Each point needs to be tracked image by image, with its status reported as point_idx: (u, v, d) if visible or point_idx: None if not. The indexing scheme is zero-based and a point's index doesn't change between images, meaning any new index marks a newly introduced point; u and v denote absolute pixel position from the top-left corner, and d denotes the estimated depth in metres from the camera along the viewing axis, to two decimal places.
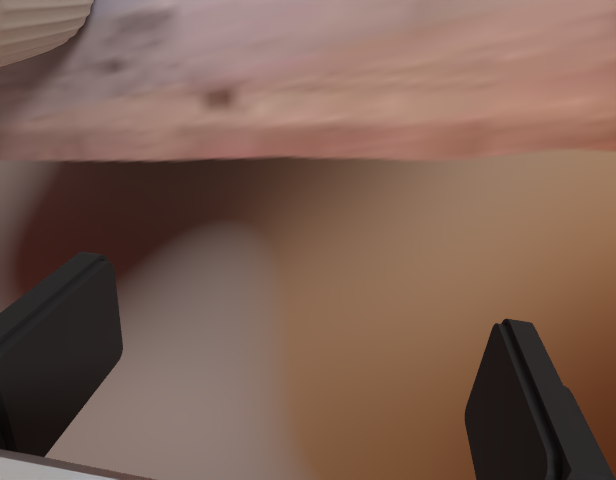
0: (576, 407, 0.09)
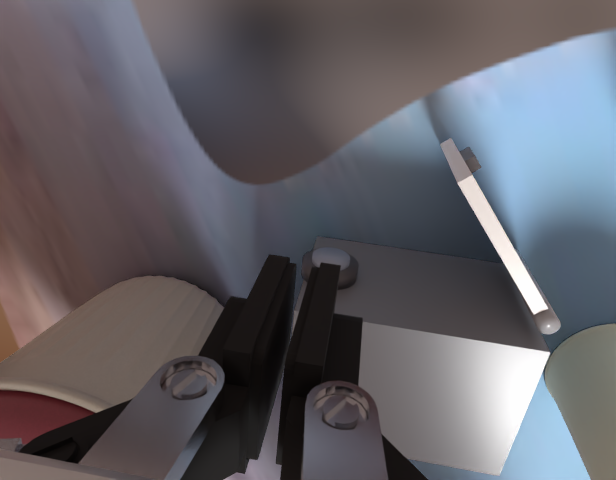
0: (361, 332, 0.10)
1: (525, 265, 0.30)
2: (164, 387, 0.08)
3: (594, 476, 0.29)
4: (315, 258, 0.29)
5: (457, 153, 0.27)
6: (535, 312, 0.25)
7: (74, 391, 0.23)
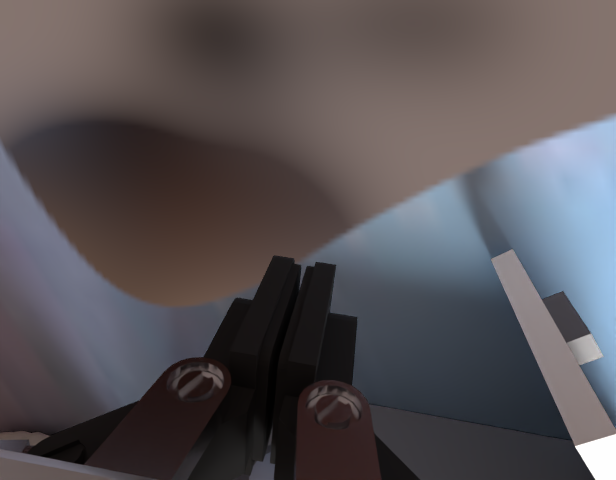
0: None
1: None
2: (171, 389, 0.08)
3: None
4: None
5: (542, 308, 0.13)
6: None
7: None
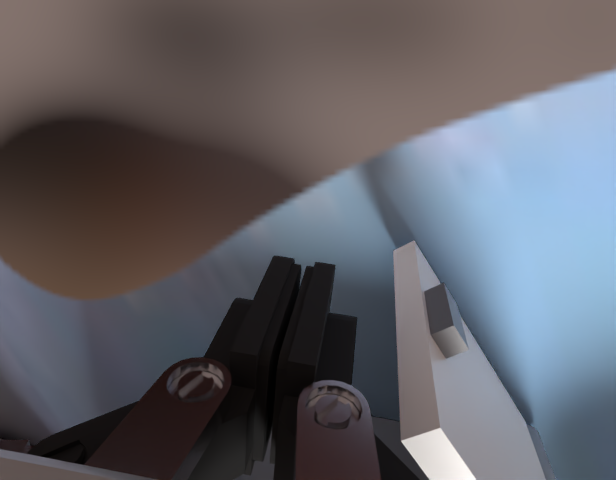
0: None
1: None
2: (171, 389, 0.08)
3: None
4: None
5: (418, 300, 0.12)
6: None
7: None
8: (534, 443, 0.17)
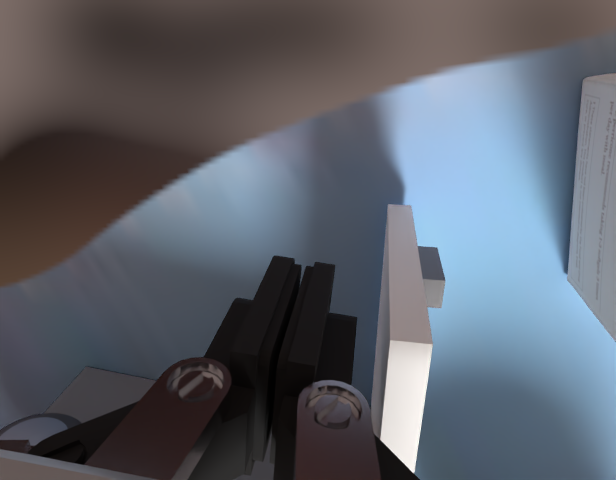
0: (355, 332, 0.10)
1: None
2: (171, 389, 0.08)
3: None
4: None
5: (414, 249, 0.13)
6: None
7: None
8: None
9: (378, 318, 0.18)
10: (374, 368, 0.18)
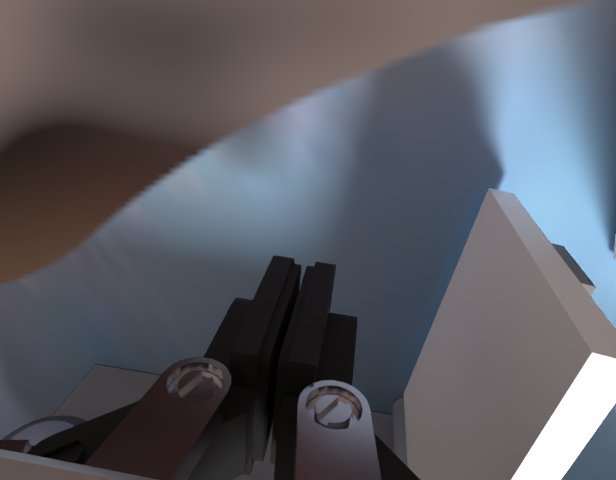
0: None
1: None
2: (170, 389, 0.08)
3: None
4: None
5: (548, 244, 0.11)
6: None
7: None
8: None
9: (440, 308, 0.16)
10: (421, 359, 0.17)
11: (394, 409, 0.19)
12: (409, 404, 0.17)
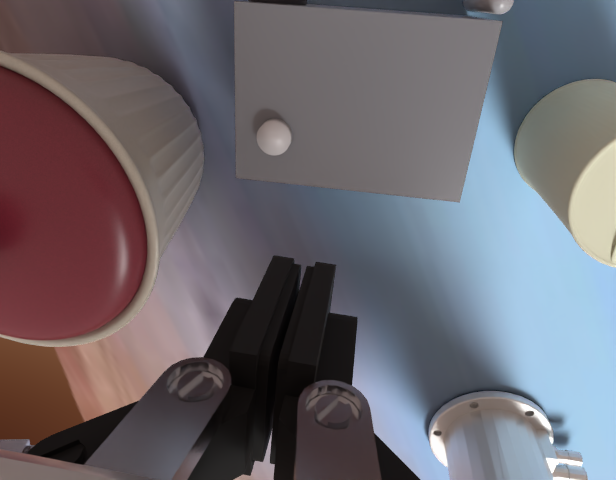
0: None
1: None
2: (171, 389, 0.08)
3: (558, 195, 0.28)
4: None
5: None
6: None
7: None
8: None
9: None
10: None
11: None
12: None
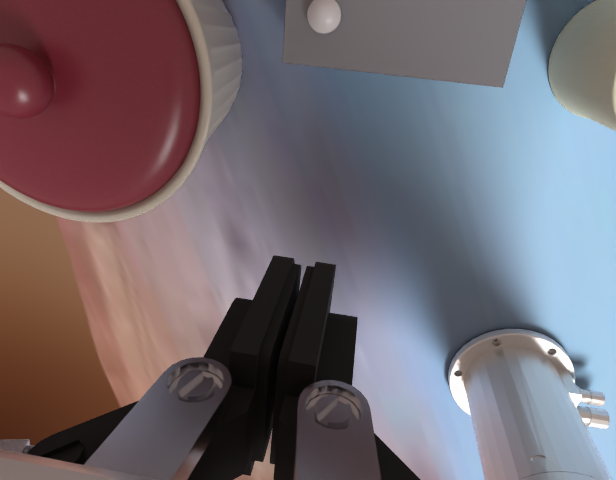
0: None
1: None
2: (171, 389, 0.08)
3: (600, 82, 0.28)
4: None
5: None
6: None
7: None
8: None
9: None
10: None
11: None
12: None
